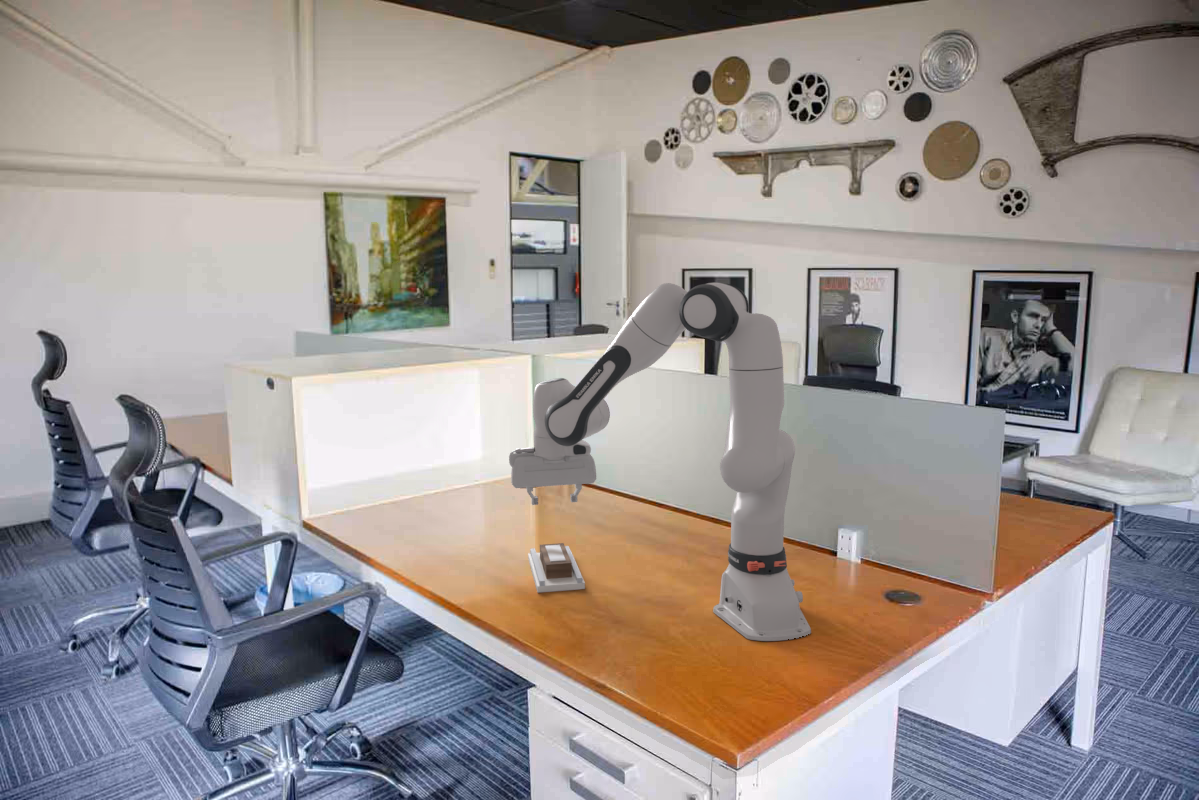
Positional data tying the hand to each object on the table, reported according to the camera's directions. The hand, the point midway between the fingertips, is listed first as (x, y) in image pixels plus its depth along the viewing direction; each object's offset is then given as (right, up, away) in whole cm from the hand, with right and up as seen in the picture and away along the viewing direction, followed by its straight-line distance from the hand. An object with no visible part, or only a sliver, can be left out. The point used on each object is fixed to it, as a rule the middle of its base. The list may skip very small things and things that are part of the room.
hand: (554, 503), depth 196 cm
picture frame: (0, -16, +3) cm, 16 cm away
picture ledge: (0, -17, +3) cm, 18 cm away
